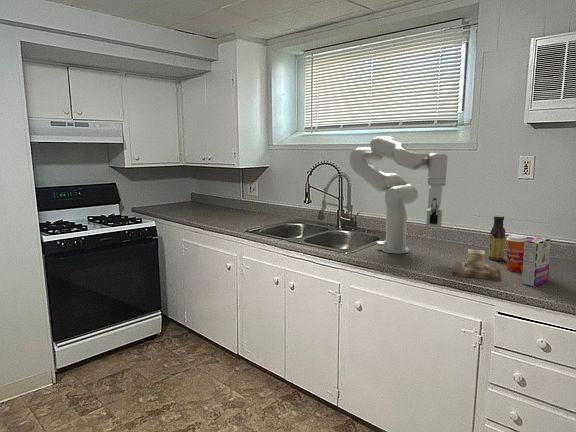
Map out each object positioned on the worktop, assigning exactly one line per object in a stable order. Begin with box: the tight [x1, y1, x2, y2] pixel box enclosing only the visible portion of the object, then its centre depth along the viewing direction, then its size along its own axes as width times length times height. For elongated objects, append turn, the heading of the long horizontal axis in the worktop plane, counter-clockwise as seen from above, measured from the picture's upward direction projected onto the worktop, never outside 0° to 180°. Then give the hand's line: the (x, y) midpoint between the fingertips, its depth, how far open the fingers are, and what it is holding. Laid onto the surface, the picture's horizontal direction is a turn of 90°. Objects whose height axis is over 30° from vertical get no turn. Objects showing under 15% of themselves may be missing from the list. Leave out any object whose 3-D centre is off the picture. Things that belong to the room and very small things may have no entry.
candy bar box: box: [521, 236, 552, 287], centre depth 154 cm, size 11×5×16 cm, turn 126°
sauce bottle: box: [488, 214, 507, 262], centre depth 185 cm, size 6×6×20 cm
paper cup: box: [505, 234, 528, 273], centre depth 169 cm, size 8×8×14 cm
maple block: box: [466, 248, 486, 270], centre depth 167 cm, size 6×6×7 cm
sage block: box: [425, 208, 443, 229], centre depth 185 cm, size 6×6×7 cm
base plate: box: [452, 261, 500, 281], centre depth 168 cm, size 16×16×2 cm
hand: (433, 222), depth 185 cm, fingers closed on sage block, 5 cm apart
